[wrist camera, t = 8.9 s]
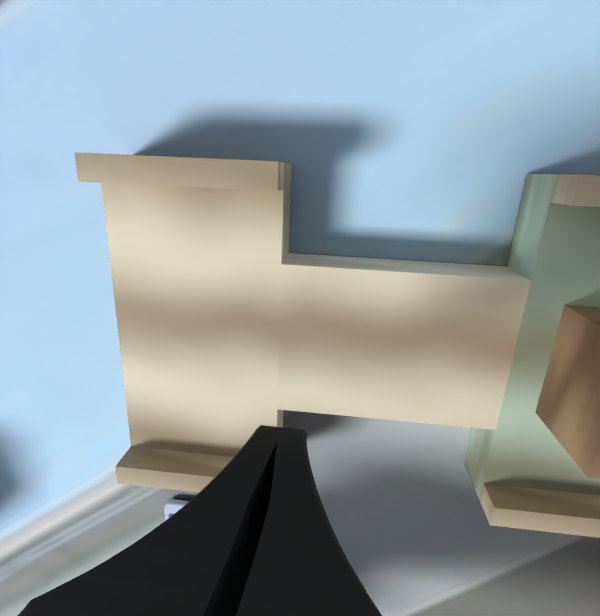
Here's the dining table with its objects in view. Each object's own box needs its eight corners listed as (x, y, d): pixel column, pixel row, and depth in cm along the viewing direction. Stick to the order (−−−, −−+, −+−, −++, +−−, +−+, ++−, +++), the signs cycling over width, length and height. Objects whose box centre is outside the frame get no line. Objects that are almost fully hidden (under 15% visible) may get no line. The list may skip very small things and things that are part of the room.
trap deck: (650, 483, 21) (739, 572, 16) (154, 432, 23) (106, 499, 19) (771, 184, 16) (947, 189, 11) (129, 156, 18) (56, 150, 14)
